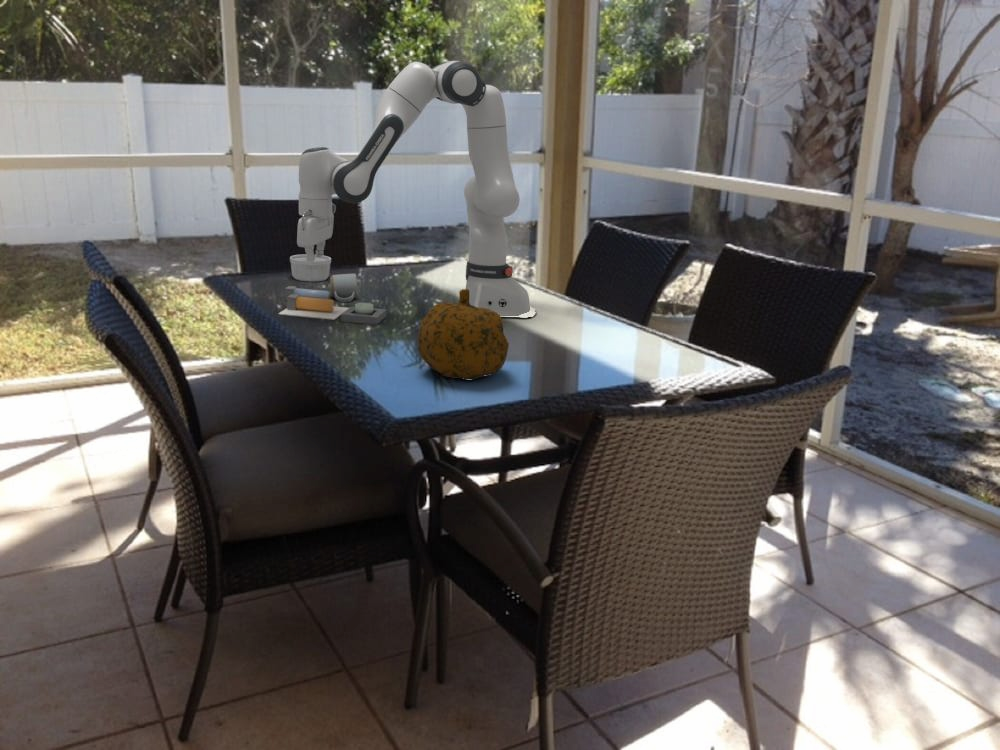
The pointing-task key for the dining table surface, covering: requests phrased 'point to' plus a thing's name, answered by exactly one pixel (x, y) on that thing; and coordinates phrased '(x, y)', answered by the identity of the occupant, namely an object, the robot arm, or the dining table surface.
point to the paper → (315, 313)
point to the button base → (363, 316)
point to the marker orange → (309, 303)
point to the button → (364, 308)
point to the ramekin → (310, 268)
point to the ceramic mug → (343, 287)
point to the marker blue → (306, 293)
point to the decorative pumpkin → (462, 339)
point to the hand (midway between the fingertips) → (315, 258)
